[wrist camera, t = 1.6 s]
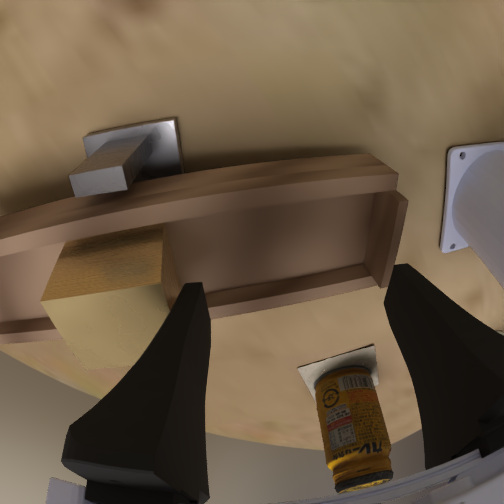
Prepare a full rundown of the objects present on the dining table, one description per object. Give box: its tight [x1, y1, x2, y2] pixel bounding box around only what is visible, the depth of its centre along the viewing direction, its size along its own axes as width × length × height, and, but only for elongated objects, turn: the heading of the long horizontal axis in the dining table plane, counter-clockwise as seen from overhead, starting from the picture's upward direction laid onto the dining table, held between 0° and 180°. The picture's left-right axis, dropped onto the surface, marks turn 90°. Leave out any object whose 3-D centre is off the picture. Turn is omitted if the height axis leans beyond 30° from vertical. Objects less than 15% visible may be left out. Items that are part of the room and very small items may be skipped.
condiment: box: [298, 346, 393, 494], centre depth 25 cm, size 7×8×12 cm
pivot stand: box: [69, 117, 185, 198], centre depth 16 cm, size 5×10×5 cm, turn 4°
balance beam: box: [0, 154, 408, 344], centre depth 14 cm, size 24×7×4 cm, turn 93°
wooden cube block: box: [40, 222, 182, 370], centre depth 12 cm, size 4×4×4 cm
